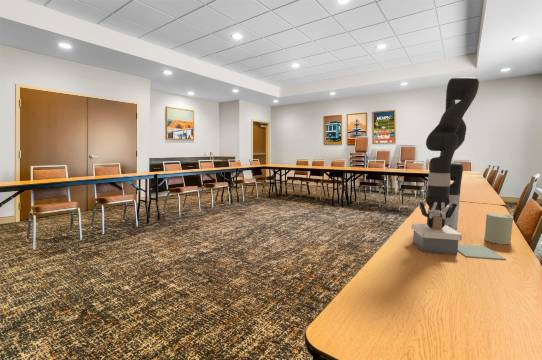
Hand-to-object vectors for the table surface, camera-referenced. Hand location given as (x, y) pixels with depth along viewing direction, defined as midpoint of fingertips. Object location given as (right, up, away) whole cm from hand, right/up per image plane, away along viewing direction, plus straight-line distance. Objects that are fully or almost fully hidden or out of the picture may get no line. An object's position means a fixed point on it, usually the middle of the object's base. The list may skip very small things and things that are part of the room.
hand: (435, 227), depth 112 cm
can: (+33, -8, +11) cm, 36 cm away
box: (0, -8, +1) cm, 8 cm away
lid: (0, -3, 0) cm, 3 cm away
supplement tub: (+13, -7, +17) cm, 22 cm away
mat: (+14, -9, -3) cm, 17 cm away
